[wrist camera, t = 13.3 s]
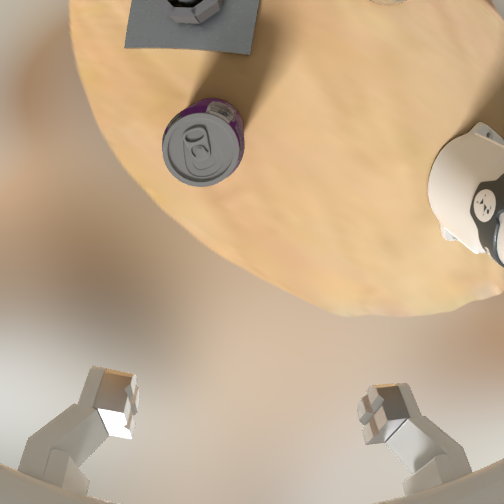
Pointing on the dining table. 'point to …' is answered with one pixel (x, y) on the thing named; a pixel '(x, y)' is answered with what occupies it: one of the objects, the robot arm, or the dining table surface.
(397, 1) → the plastic bottle
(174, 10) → the octagonal nut
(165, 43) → the post stand
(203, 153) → the beverage can
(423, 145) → the dining table surface
